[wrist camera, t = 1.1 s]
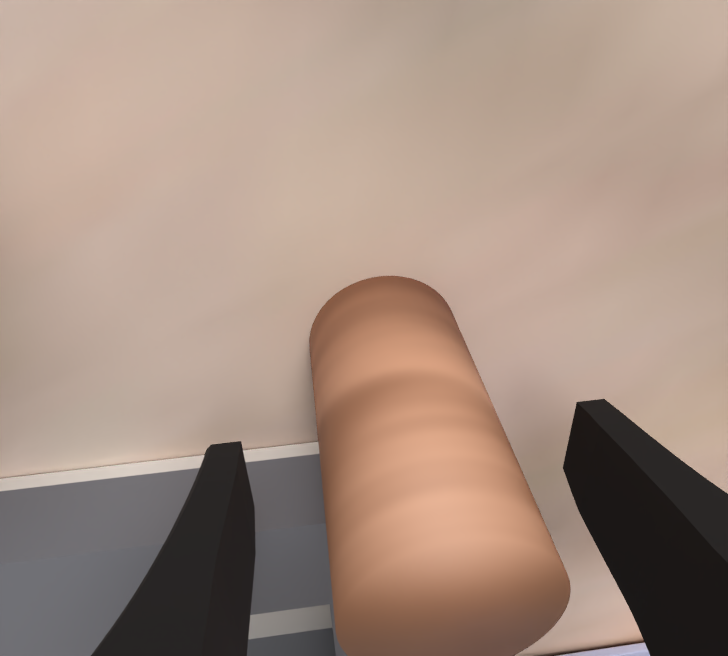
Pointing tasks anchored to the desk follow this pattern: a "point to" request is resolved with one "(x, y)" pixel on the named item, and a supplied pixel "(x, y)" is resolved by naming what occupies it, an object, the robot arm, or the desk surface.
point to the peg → (422, 486)
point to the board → (157, 551)
